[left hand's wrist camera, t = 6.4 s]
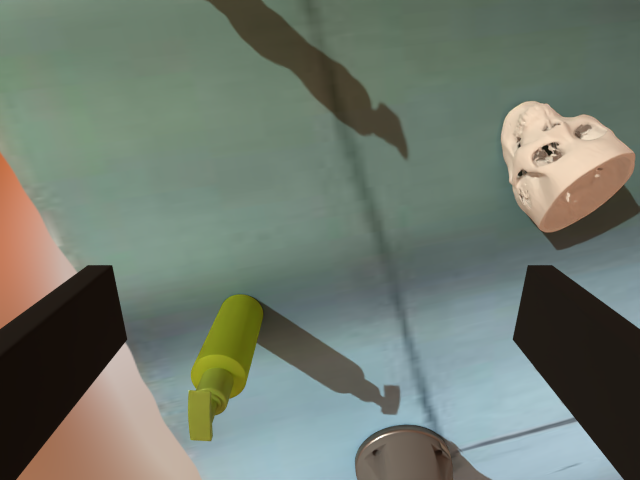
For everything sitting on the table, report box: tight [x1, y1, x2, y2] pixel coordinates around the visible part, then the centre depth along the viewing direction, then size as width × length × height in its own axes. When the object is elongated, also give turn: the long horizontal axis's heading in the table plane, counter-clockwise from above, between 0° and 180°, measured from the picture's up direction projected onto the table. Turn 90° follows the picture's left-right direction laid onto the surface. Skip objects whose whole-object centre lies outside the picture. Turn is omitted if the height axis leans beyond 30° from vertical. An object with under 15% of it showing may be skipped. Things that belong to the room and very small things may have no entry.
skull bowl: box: [501, 101, 635, 232], centre depth 43 cm, size 10×14×12 cm
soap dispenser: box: [188, 294, 263, 441], centre depth 44 cm, size 6×7×20 cm
